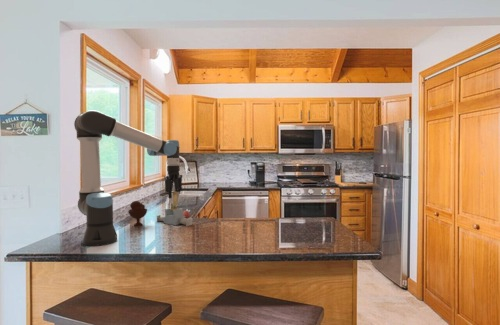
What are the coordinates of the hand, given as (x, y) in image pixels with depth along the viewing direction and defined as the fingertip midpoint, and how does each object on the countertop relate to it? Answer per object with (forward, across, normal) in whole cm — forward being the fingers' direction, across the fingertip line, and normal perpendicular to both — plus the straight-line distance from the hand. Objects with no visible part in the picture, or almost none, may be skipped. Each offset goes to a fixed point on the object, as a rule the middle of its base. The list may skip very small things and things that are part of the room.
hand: (174, 202), depth 189 cm
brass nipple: (+5, 0, 0) cm, 5 cm away
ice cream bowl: (+13, -15, +15) cm, 25 cm away
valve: (+13, +3, 0) cm, 13 cm away
